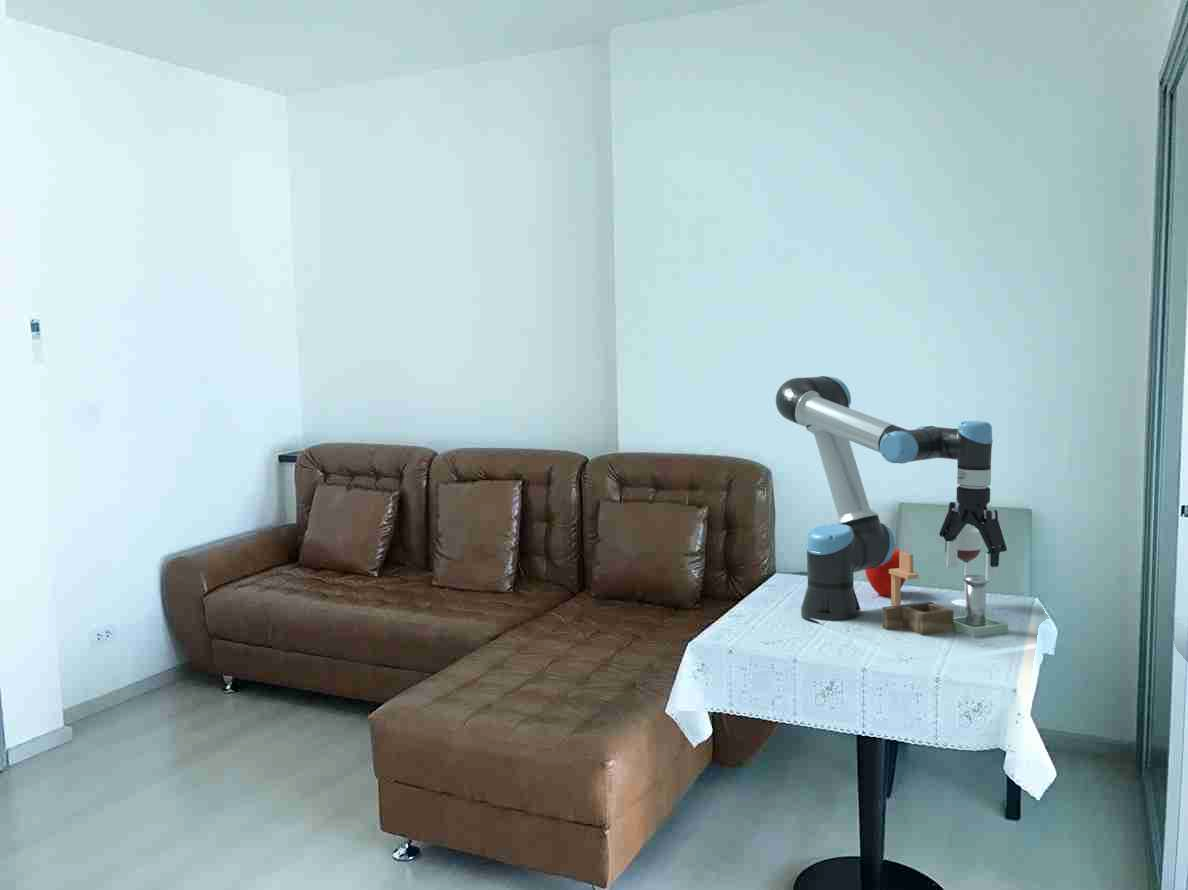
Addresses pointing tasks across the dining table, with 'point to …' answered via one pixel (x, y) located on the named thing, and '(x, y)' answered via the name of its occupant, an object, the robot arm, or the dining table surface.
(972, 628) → the dish
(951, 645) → the dining table surface
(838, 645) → the dining table surface
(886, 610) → the block
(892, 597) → the keeper
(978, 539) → the wineglass
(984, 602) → the pin
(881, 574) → the apple
